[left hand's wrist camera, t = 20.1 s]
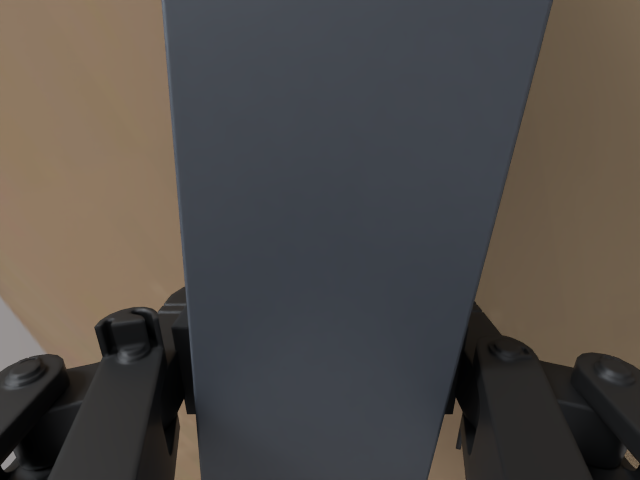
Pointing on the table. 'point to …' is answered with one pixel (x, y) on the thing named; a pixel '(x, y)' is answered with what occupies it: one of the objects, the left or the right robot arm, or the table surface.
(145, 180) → the table surface
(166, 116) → the table surface
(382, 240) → the bar
